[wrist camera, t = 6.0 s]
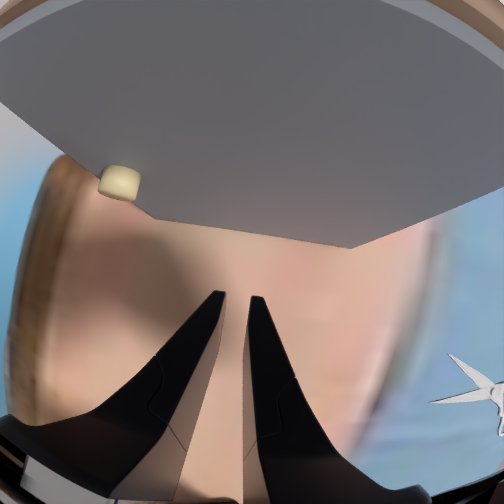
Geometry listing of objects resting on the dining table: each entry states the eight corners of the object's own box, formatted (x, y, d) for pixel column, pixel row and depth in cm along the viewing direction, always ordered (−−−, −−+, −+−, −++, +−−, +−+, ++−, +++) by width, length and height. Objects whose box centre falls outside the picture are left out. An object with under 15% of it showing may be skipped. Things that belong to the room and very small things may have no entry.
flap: (349, 262, 16) (589, 189, 1) (152, 231, 16) (-56, 102, 2) (351, 236, 16) (565, 116, 2) (157, 206, 16) (-18, 41, 2)
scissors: (511, 435, 13) (408, 441, 14) (507, 433, 14) (403, 437, 15) (544, 351, 15) (463, 312, 15) (540, 350, 15) (457, 311, 16)
